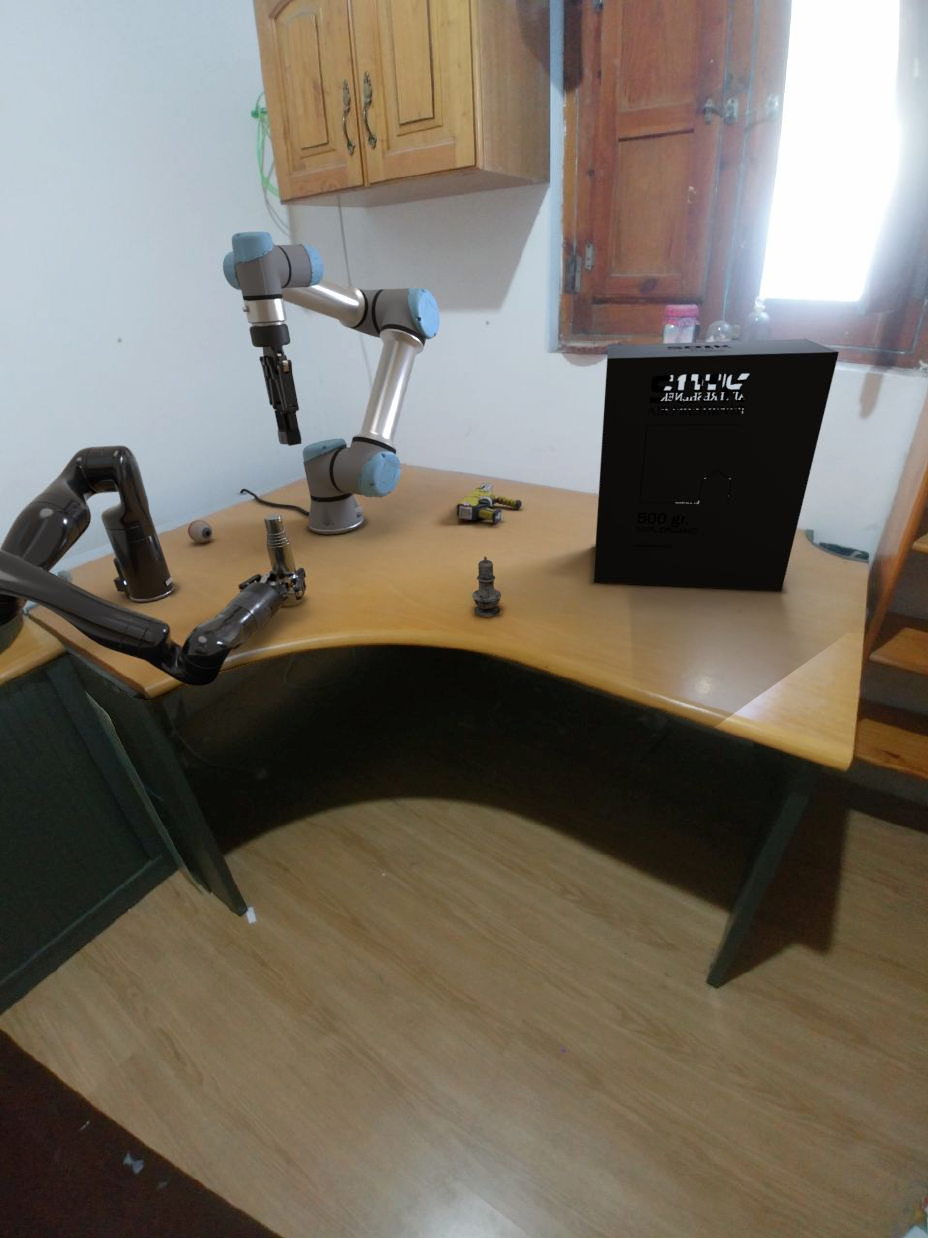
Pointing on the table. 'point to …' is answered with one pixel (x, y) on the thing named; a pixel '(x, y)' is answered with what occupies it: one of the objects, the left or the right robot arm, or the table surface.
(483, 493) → the toy gun
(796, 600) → the table surface
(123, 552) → the left robot arm
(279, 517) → the bottle
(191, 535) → the eyeball
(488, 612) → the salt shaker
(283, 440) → the cap
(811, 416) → the cardboard box
